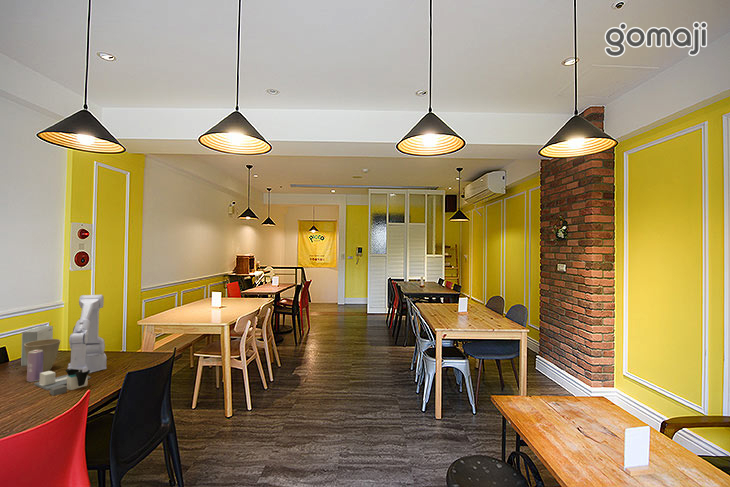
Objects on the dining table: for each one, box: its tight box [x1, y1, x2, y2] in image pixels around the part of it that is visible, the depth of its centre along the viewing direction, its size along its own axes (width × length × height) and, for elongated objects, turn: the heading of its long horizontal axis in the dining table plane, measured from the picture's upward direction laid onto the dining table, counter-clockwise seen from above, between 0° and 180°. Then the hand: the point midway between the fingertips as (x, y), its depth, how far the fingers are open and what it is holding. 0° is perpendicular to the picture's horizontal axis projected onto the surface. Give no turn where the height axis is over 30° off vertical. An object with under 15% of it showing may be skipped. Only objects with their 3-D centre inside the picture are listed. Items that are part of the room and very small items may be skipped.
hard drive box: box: [20, 325, 54, 367], centre depth 211 cm, size 16×8×20 cm, turn 14°
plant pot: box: [24, 338, 61, 372], centre depth 195 cm, size 15×15×16 cm
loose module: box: [66, 374, 89, 391], centre depth 174 cm, size 7×4×6 cm, turn 153°
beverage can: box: [26, 350, 43, 383], centre depth 182 cm, size 6×6×15 cm
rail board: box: [33, 370, 92, 391], centre depth 180 cm, size 18×14×6 cm
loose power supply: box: [49, 385, 68, 397], centre depth 166 cm, size 5×4×3 cm
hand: (77, 384), depth 174 cm, fingers open, 7 cm apart
